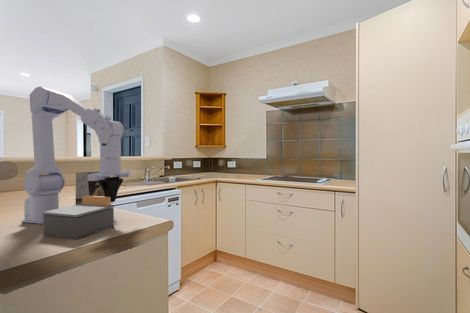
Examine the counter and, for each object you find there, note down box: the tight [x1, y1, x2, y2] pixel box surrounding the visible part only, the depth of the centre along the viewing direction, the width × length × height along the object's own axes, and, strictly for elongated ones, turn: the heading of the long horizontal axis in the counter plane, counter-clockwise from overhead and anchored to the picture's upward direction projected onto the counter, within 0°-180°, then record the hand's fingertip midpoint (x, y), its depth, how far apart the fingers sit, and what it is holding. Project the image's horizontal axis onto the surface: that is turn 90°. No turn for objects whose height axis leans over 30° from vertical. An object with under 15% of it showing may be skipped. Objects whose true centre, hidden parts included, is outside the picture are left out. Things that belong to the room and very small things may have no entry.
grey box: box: [43, 207, 115, 240], centre depth 67 cm, size 12×12×6 cm
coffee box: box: [75, 171, 111, 205], centre depth 82 cm, size 9×6×16 cm
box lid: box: [42, 195, 115, 217], centre depth 67 cm, size 12×12×3 cm
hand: (111, 201), depth 73 cm, fingers closed
